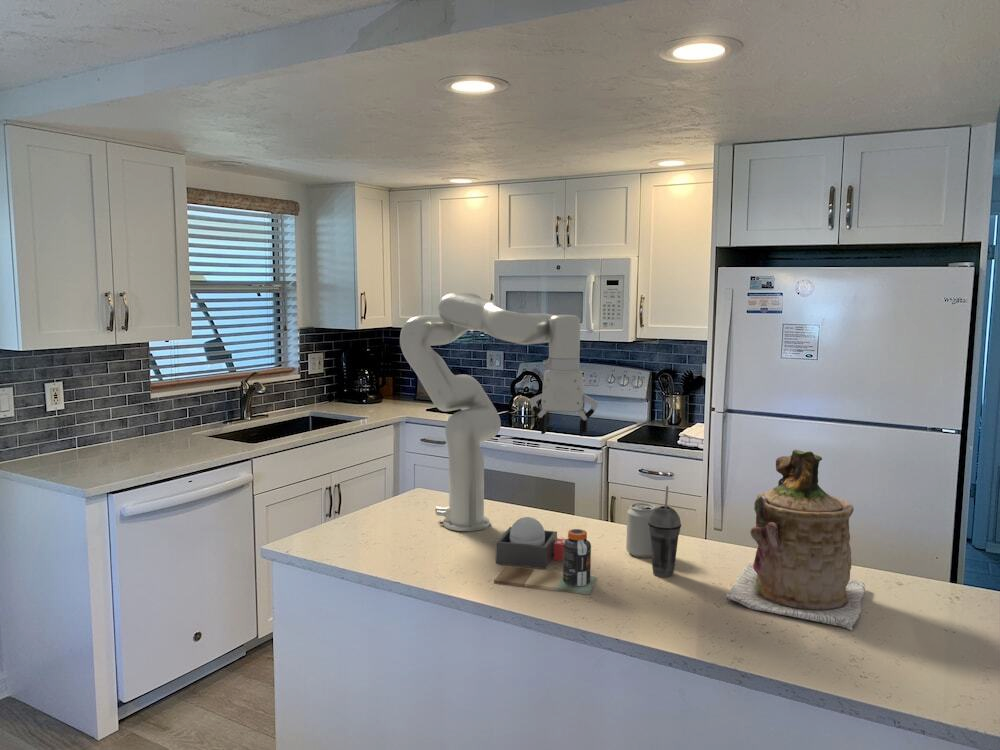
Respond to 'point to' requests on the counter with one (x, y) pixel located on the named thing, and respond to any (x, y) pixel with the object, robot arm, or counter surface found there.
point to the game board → (540, 580)
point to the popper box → (529, 551)
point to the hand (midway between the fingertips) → (562, 434)
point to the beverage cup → (664, 539)
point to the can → (639, 529)
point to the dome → (527, 532)
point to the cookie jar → (801, 550)
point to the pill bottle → (577, 558)
